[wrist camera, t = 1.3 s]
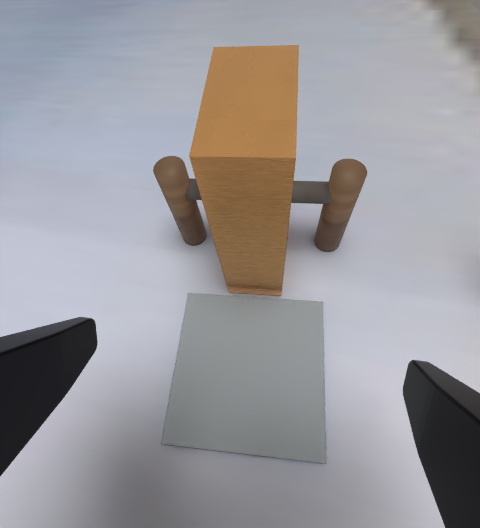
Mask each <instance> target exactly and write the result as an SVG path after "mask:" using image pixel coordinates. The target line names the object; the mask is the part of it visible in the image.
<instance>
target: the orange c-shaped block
mask: <svg viewBox="0 0 480 528" xmlns="http://www.w3.org/2000/svg"><path fill="white" fill-rule="evenodd" d="M298 55H299V45H289V46H248V47H214V48H213V53H212V57H211V62H210V66H209V71H208V75H207V80H206V84H205V89H204V93H203V97H202V102H201V106H200V111H199V115H198V120H197V124H196V129H195V133H194V137H193V142H192V146H191V151H190V155H189V157H190V161H191V164H192V168H193V171H194V174H195V178H196V181H197V185H198V188H199V192H200V195H201V198H202V202H203V205H204V209H205V212H206V216H207V219H208V222H209V226H210V229H211V233H212V236H213V240H214V243H215V246H216V250H217V253H218V257H219V260H220V264H221V267H222V271H223V274H224V277H225V281H226V284H227V288H228V291H229V293H245V294H261V295H277V296H281V292H282V283H283V274H284V264H285V255H286V245H287V236H288V227H289V217H290V208H291V199H292V189H293V180H294V171H295V161H296V133H297V94H298Z"/></svg>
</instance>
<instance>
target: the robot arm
mask: <svg viewBox="0 0 480 528" xmlns="http://www.w3.org/2000/svg"><path fill="white" fill-rule="evenodd" d="M96 348H97V334H96V324H95V321H94V320H93V319H92V318H85V317H78V318H74V319H70V320H66V321H62V322H58V323H54V324H50V325H46V326H42V327H39V328H35V329H31V330H27V331H23V332H19V333H15V334H11V335H7V336H3V337H0V476H1V475H2V474H3V472H4V471H5V470H6V469H7V468H8V466H9V465H10V464H11V463H12V461H13V460H14V459H15V458H16V456H17V455H18V454H19V453H20V451H21V450H22V449H23V448H24V446H25V445H26V444H27V443H28V441H29V440H30V439H31V438H32V436H33V435H34V434H35V433H36V432H37V430H38V429H39V428H40V427H41V425H42V424H43V423H44V422H45V420H46V419H47V418H48V417H49V415H50V414H51V413H52V412H53V410H54V409H55V408H56V407H57V405H58V404H59V403H60V402H61V401H62V399H63V398H64V397H65V395H66V394H67V393H68V391H69V390H70V388H71V387H72V386H73V384H74V383H75V381H76V380H77V378H78V376H79V375H80V373H81V372H82V370H83V369H84V367H85V366H86V364H87V363H88V361H89V360H90V358H91V357H92V355H93V354H94V352H95V350H96ZM403 396H404V400H405V404H406V408H407V412H408V416H409V420H410V424H411V428H412V432H413V436H414V440H415V444H416V448H417V451H418V454H419V457H420V460H421V463H422V466H423V468H424V471H425V474H426V477H427V479H428V482H429V485H430V487H431V490H432V493H433V495H434V498H435V501H436V504H437V506H438V509H439V512H440V514H441V517H442V520H443V523H444V525H445V528H480V393H478V392H477V391H475V390H473V389H472V388H470V387H468V386H467V385H465V384H464V383H462V382H460V381H459V380H457V379H455V378H454V377H452V376H450V375H449V374H447V373H446V372H444V371H442V370H441V369H439V368H437V367H436V366H434V365H432V364H431V363H429V362H426V361H418V360H412V361H410V363H409V364H408V368H407V373H406V377H405V381H404V385H403Z"/></svg>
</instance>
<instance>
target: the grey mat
mask: <svg viewBox="0 0 480 528" xmlns="http://www.w3.org/2000/svg"><path fill="white" fill-rule="evenodd" d="M161 444H167V445H175V446H183V447H192V448H200V449H208V450H217V451H225V452H234V453H242V454H250V455H259V456H267V457H275V458H284V459H292V460H300V461H309V462H317V463H326V432H325V380H324V329H323V302H318V301H302V300H287V299H271V298H255V297H240V296H224V295H209V294H193V293H188V297H187V302H186V308H185V313H184V319H183V324H182V330H181V336H180V341H179V347H178V352H177V358H176V363H175V369H174V374H173V380H172V385H171V391H170V396H169V402H168V407H167V413H166V419H165V424H164V430H163V435H162V441H161Z"/></svg>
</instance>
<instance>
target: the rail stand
mask: <svg viewBox="0 0 480 528" xmlns="http://www.w3.org/2000/svg"><path fill="white" fill-rule="evenodd" d="M153 171H154V175H155V177H156V179H157V181H158V183H159V186H160V188H161V190H162V192H163V194H164V197H165V199H166V201H167V203H168V206H169V208H170V210H171V212H172V214H173V217H174V219H175V221H176V223H177V225H178V228H179V230H180V232H181V234H182V237H183V239H184V241H185V242H186V243H187V244H189V245H198V244H201V243H202V242H203V241H204V240H205V238H206V230H205V227H204V224H203V220H202V217H201V214H200V211H199V208H198V205H197V202H196V200H202V198H201V195H200V192H199V188H198V185H197V181H196V179H189V176H188V173H187V170H186V167H185V164H184V162H183V160H182V159H181V158H179V157H176V156H168V157H164V158H162V159H160V160H159V161H158V162H157V163H156V164H155V166H154V169H153ZM366 176H367V170H366V167H365V166H364V165H363V164H362V163H361V162H359V161H357V160H354V159H342V160H340V161H338V162H336V163H335V164H334V166H333V168H332V172H331V176H330V180H329V182H317V181H293V189H292V199H291V203H315V204H323V207H322V211H321V215H320V219H319V223H318V227H317V231H316V235H315V239H314V242H315V245H316V246H317V247H318V248H319V249H320V250H322V251H325V252H330V251H334V250H335V249H337V247H338V246H339V244H340V241H341V239H342V236H343V234H344V231H345V228H346V226H347V223H348V221H349V218H350V216H351V213H352V211H353V208H354V206H355V203H356V201H357V198H358V196H359V193H360V191H361V188H362V186H363V183H364V181H365V178H366Z"/></svg>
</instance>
